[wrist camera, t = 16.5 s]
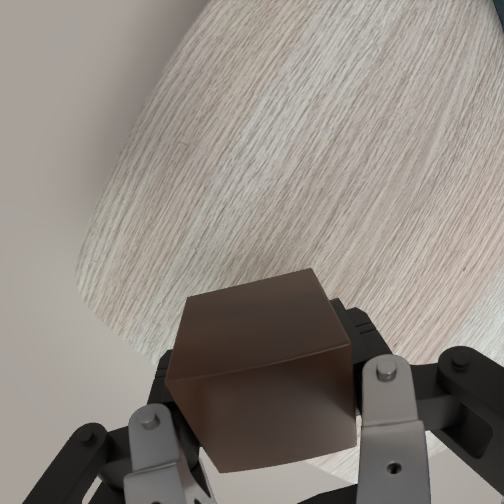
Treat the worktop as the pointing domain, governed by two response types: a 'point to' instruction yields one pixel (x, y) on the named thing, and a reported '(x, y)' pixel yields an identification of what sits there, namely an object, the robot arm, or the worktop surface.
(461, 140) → the worktop surface
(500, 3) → the box
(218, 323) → the block
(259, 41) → the worktop surface
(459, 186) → the worktop surface
